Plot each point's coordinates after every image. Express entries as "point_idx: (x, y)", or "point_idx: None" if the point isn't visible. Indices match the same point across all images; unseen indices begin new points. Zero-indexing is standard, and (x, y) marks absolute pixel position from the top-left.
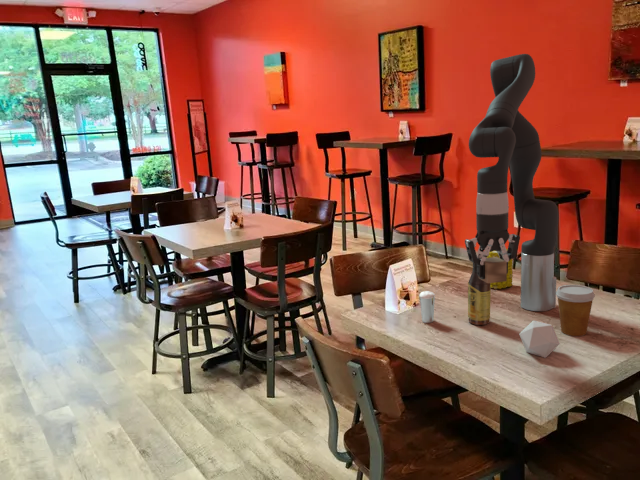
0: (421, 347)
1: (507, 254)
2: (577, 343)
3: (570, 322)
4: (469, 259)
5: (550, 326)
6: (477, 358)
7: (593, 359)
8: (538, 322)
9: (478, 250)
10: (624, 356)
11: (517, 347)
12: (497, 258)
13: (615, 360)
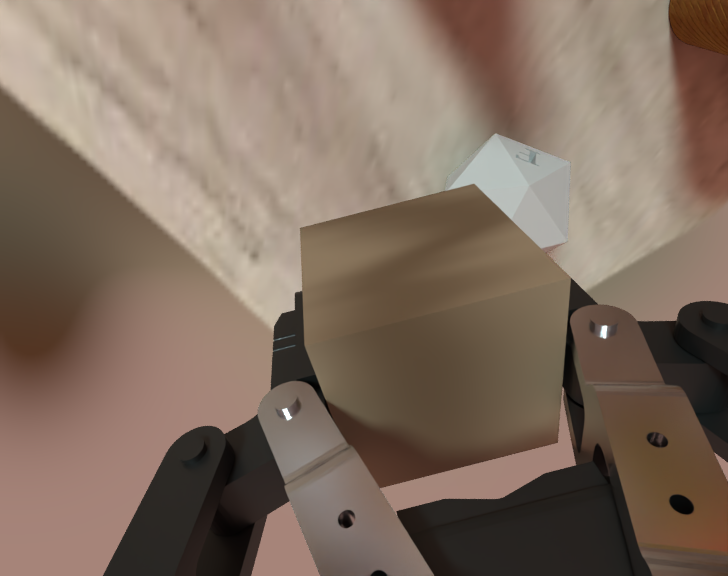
0: (37, 97)
1: (674, 381)
2: (642, 116)
3: (716, 45)
4: (168, 469)
5: (555, 246)
6: (273, 216)
7: (599, 237)
8: (535, 211)
9: (298, 516)
10: (685, 222)
11: (433, 134)
12: (539, 343)
13: (645, 245)
